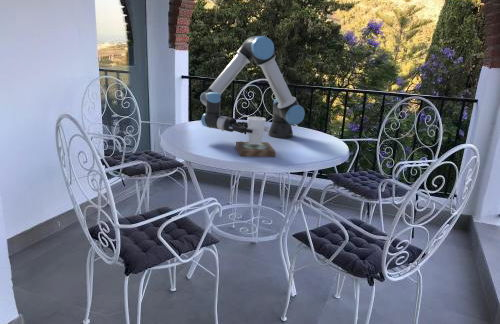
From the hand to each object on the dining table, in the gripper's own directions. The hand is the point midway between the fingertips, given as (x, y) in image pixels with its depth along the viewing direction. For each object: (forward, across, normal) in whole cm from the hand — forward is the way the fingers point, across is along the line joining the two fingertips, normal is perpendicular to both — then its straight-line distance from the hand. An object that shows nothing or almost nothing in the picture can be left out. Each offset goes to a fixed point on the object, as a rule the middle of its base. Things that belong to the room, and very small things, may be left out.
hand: (263, 130), depth 210 cm
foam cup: (-4, 0, -7) cm, 9 cm away
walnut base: (-4, 0, -12) cm, 13 cm away
